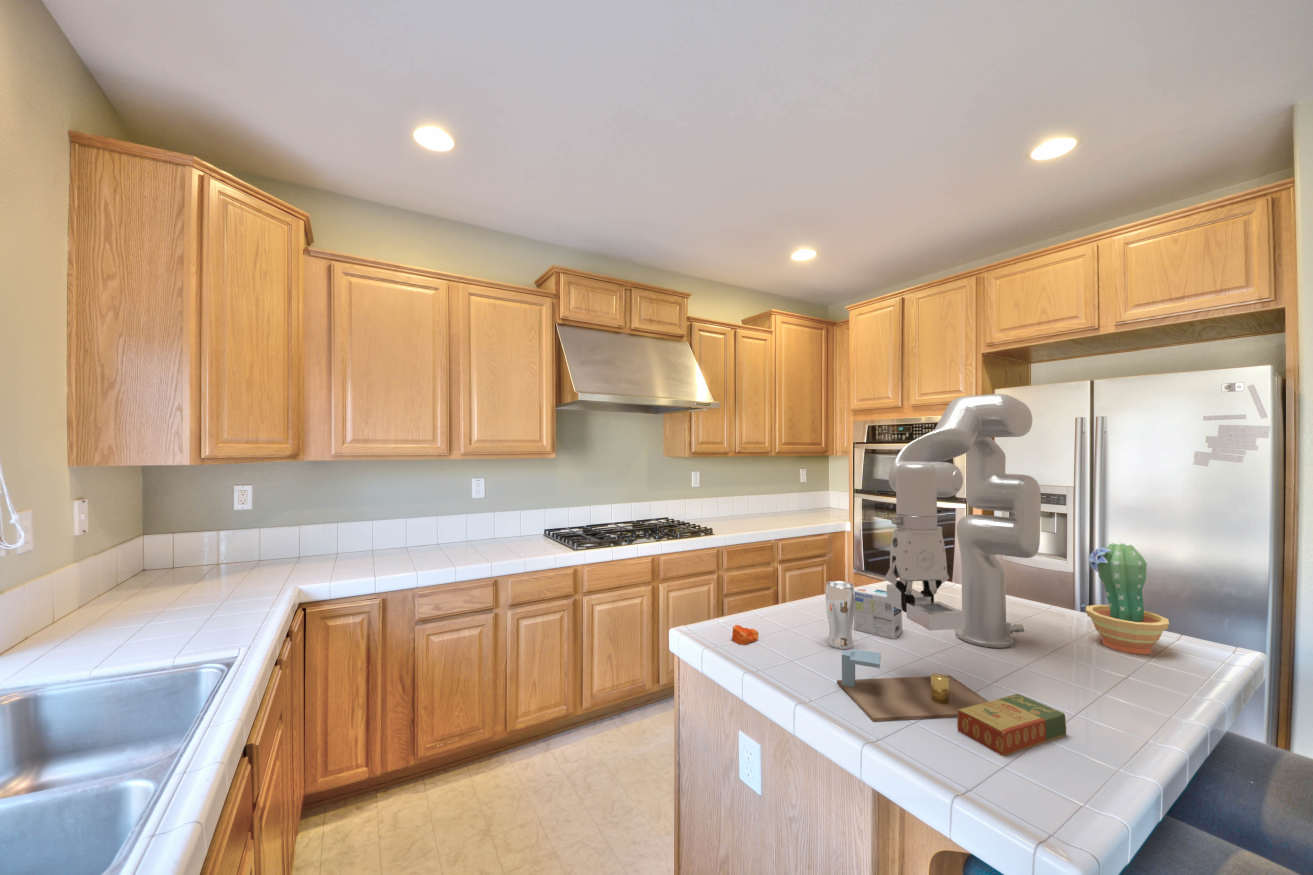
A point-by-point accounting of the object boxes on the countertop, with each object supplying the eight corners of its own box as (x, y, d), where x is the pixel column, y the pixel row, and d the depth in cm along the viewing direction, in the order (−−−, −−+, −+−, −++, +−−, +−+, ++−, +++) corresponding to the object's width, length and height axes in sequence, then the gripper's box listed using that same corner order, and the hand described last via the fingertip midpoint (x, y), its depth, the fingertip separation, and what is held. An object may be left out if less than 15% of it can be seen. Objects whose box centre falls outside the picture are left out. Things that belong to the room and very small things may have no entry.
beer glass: (851, 639, 131) (850, 581, 131) (859, 650, 124) (858, 588, 124) (823, 639, 132) (822, 580, 132) (829, 649, 125) (829, 587, 125)
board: (950, 678, 109) (950, 675, 109) (1003, 714, 94) (1003, 711, 94) (837, 683, 107) (836, 680, 107) (873, 721, 92) (873, 718, 92)
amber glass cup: (942, 696, 100) (942, 672, 100) (952, 703, 97) (952, 679, 97) (927, 696, 100) (927, 673, 100) (937, 704, 97) (937, 680, 97)
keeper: (880, 686, 106) (880, 652, 106) (880, 699, 100) (879, 664, 100) (843, 679, 109) (843, 647, 109) (841, 691, 103) (840, 657, 103)
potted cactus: (1097, 631, 136) (1096, 536, 137) (1179, 650, 124) (1176, 546, 124) (1075, 643, 128) (1073, 543, 128) (1160, 665, 115) (1157, 553, 116)
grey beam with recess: (965, 628, 97) (964, 607, 97) (930, 630, 96) (929, 609, 96) (909, 601, 114) (909, 583, 114) (879, 603, 113) (878, 584, 113)
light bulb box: (903, 632, 136) (902, 592, 136) (895, 640, 131) (894, 597, 131) (862, 623, 143) (861, 584, 143) (853, 630, 138) (852, 590, 138)
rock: (779, 645, 130) (779, 628, 130) (744, 656, 123) (744, 638, 123) (745, 631, 139) (745, 615, 139) (711, 640, 132) (711, 624, 133)
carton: (956, 732, 89) (955, 707, 89) (1017, 714, 95) (1017, 690, 95) (1004, 758, 82) (1003, 731, 82) (1067, 737, 88) (1066, 711, 88)
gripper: (889, 526, 101) (890, 620, 101) (966, 525, 103) (967, 616, 103) (869, 521, 109) (870, 608, 108) (941, 519, 111) (942, 605, 110)
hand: (917, 611), depth 105 cm, fingers closed on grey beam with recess, 3 cm apart
